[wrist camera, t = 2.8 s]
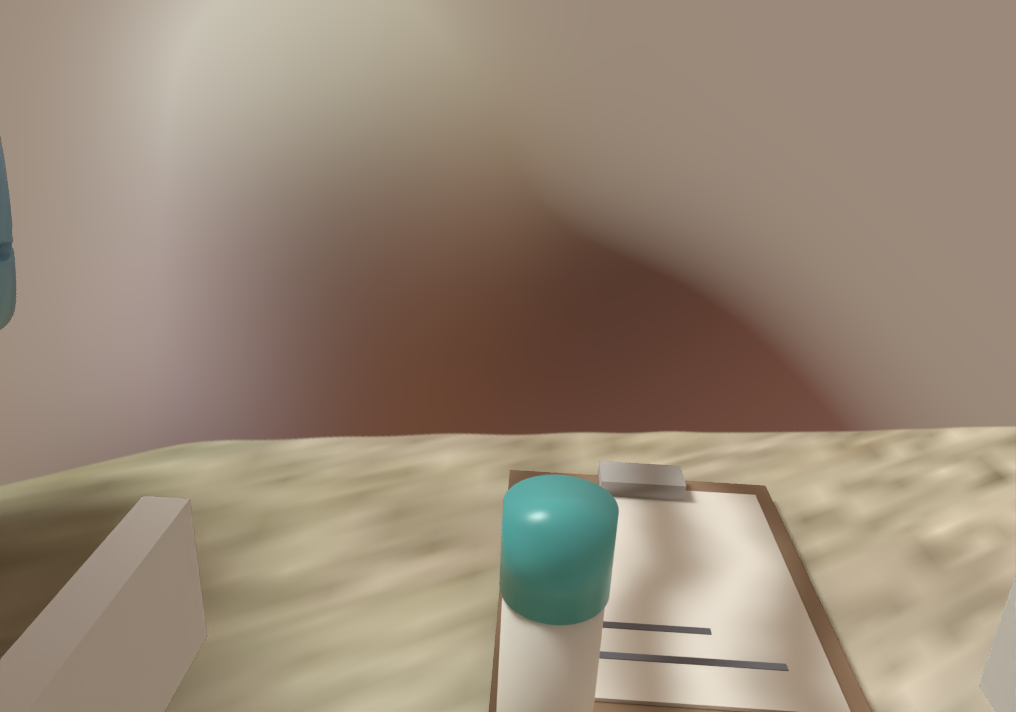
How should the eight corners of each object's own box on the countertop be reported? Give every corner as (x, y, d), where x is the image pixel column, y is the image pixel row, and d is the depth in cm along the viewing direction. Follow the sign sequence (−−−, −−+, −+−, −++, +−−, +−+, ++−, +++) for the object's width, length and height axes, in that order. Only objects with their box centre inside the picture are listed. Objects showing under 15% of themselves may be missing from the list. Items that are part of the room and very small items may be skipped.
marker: (484, 878, 28) (500, 534, 22) (490, 791, 31) (506, 471, 26) (583, 885, 28) (623, 542, 22) (580, 797, 31) (614, 478, 25)
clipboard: (487, 741, 33) (488, 699, 32) (509, 483, 51) (510, 453, 51) (884, 768, 33) (896, 728, 32) (762, 499, 51) (768, 469, 50)
